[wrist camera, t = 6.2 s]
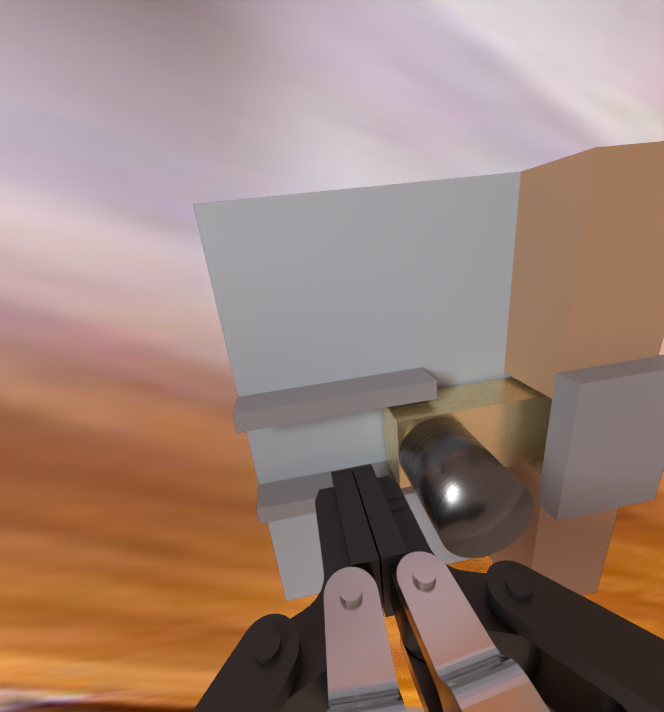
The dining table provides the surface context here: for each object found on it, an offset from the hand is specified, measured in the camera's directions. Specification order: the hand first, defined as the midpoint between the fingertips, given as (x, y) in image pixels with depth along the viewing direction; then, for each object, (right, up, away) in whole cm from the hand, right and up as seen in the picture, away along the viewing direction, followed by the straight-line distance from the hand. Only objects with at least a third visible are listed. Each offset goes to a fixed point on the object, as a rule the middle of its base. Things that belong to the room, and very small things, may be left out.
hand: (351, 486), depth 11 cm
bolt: (+7, +2, +3) cm, 8 cm away
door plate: (+3, +2, +5) cm, 6 cm away
